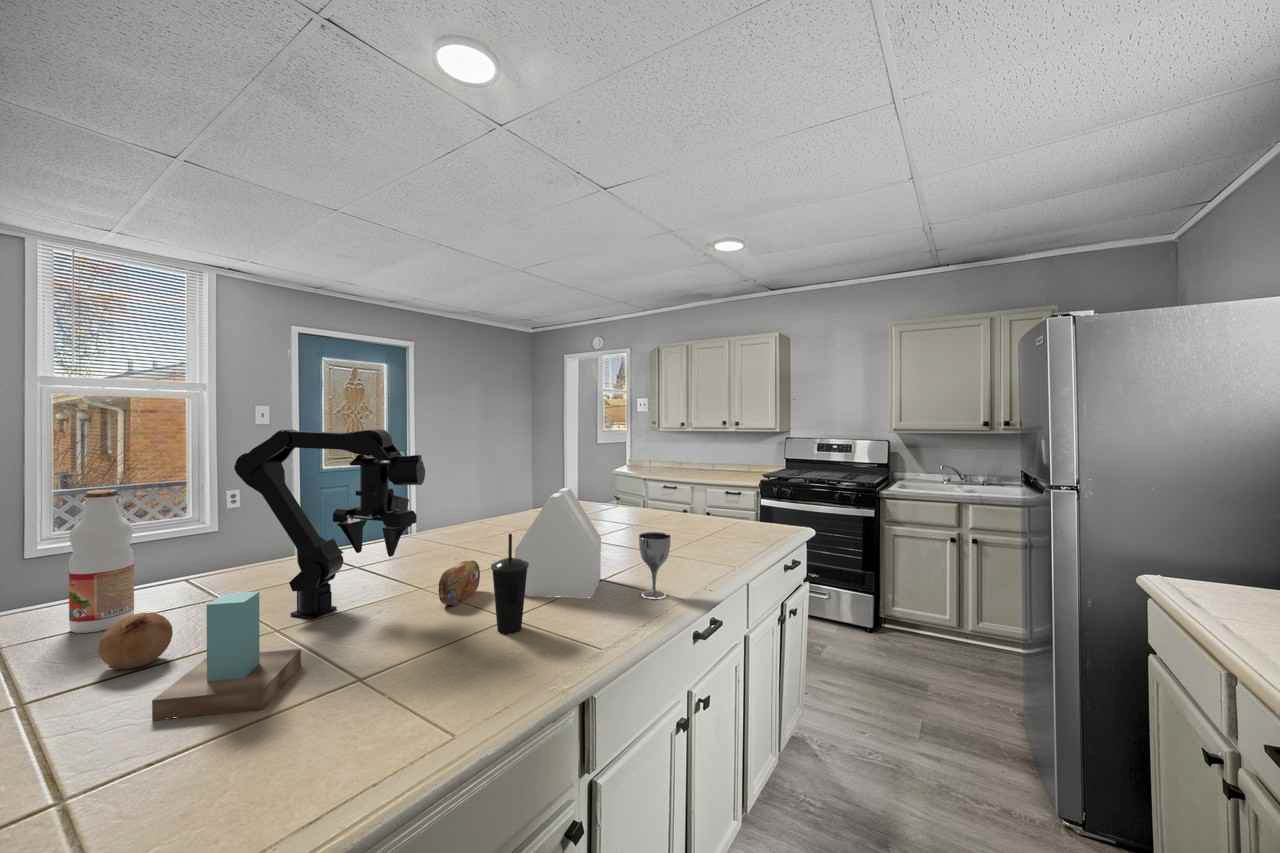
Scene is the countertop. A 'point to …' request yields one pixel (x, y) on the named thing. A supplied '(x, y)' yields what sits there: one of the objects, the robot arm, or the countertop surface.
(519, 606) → the drinking cup
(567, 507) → the milk carton
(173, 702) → the walnut base
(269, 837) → the countertop surface
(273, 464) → the robot arm
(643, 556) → the wine glass
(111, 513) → the fruit juice
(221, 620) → the teal block
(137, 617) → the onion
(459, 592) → the tin
